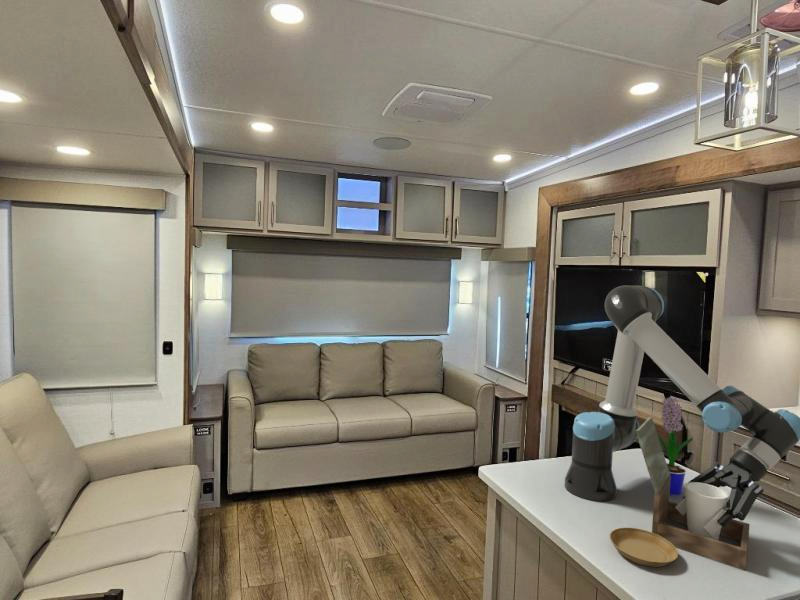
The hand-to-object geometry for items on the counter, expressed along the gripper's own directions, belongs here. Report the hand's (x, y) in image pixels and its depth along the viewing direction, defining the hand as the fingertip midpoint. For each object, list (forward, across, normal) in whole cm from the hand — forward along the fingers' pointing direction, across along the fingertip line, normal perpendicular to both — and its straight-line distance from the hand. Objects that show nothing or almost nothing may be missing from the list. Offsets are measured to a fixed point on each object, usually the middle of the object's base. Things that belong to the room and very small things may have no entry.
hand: (692, 521), depth 121 cm
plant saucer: (+16, -5, +8) cm, 18 cm away
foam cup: (+1, 0, -6) cm, 6 cm away
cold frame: (+3, +2, -4) cm, 5 cm away
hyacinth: (-7, +27, -14) cm, 31 cm away
